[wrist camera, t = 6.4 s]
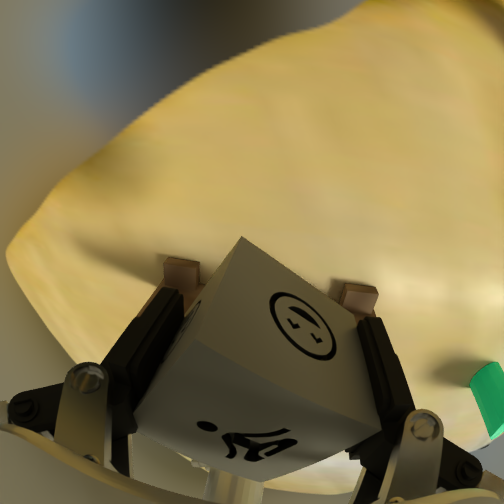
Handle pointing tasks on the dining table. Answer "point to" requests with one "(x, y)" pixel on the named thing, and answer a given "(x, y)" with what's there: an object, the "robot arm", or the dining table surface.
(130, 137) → the dining table surface
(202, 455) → the dice cube
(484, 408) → the candle
